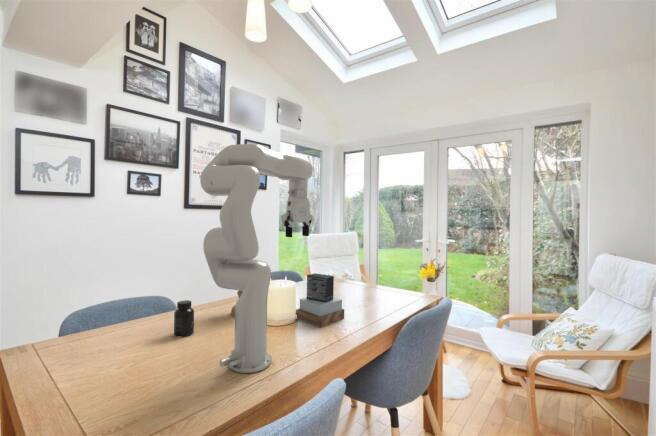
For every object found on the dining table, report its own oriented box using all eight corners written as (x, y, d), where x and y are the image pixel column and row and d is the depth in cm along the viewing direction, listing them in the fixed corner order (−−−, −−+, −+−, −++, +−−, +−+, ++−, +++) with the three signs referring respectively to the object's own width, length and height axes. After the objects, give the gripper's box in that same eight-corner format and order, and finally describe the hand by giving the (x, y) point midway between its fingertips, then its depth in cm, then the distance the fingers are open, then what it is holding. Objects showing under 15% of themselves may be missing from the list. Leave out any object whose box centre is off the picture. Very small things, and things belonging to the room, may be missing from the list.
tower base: (321, 328, 126) (322, 317, 125) (295, 320, 135) (295, 309, 135) (344, 319, 137) (344, 309, 137) (318, 311, 147) (318, 302, 147)
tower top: (320, 316, 127) (320, 305, 127) (299, 309, 136) (299, 298, 136) (341, 309, 136) (342, 299, 136) (321, 303, 145) (321, 293, 145)
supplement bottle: (197, 333, 117) (197, 302, 116) (178, 339, 112) (178, 305, 111) (189, 328, 121) (189, 298, 121) (170, 333, 116) (171, 301, 116)
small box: (334, 299, 136) (334, 275, 136) (326, 302, 131) (326, 278, 130) (314, 295, 142) (314, 272, 142) (305, 298, 136) (306, 274, 136)
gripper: (289, 192, 117) (288, 238, 118) (318, 195, 131) (318, 236, 131) (275, 193, 122) (275, 237, 122) (305, 195, 135) (305, 235, 136)
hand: (297, 236), depth 127 cm, fingers open, 9 cm apart
